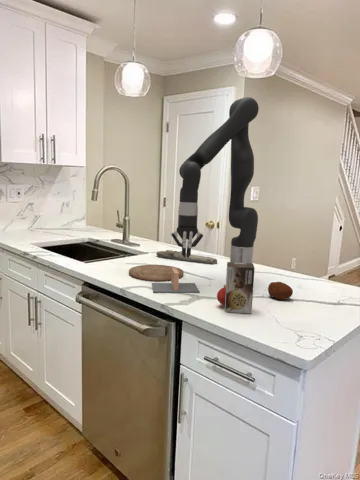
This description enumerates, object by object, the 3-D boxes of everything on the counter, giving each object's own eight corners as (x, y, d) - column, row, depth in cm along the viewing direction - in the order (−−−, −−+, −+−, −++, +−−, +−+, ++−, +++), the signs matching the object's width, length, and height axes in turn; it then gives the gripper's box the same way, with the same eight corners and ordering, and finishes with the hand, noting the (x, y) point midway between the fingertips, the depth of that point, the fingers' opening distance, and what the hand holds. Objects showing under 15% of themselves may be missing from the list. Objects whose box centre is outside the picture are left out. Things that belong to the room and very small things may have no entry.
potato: (275, 293, 153) (277, 278, 152) (295, 300, 146) (297, 284, 145) (264, 296, 149) (265, 280, 147) (284, 303, 141) (285, 286, 140)
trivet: (177, 284, 161) (177, 280, 161) (121, 279, 166) (121, 275, 165) (187, 271, 185) (187, 267, 185) (138, 266, 190) (138, 262, 189)
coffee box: (249, 307, 135) (253, 263, 132) (251, 314, 129) (255, 267, 126) (223, 305, 136) (227, 261, 133) (224, 312, 129) (227, 265, 127)
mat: (194, 284, 161) (194, 282, 161) (199, 292, 150) (199, 291, 150) (151, 284, 159) (151, 282, 159) (153, 293, 147) (153, 291, 147)
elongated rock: (213, 268, 197) (218, 265, 206) (214, 258, 196) (220, 256, 206) (152, 257, 210) (160, 254, 219) (153, 247, 209) (161, 245, 218)
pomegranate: (223, 302, 139) (225, 281, 138) (236, 307, 135) (238, 285, 134) (213, 306, 135) (214, 284, 134) (225, 310, 131) (227, 288, 130)
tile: (178, 290, 150) (179, 273, 149) (173, 290, 150) (174, 273, 148) (175, 284, 159) (175, 267, 157) (170, 284, 158) (171, 267, 157)
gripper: (172, 214, 145) (170, 259, 148) (206, 215, 147) (204, 259, 150) (169, 212, 153) (168, 254, 156) (203, 213, 154) (200, 255, 157)
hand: (186, 257), depth 153 cm, fingers closed
